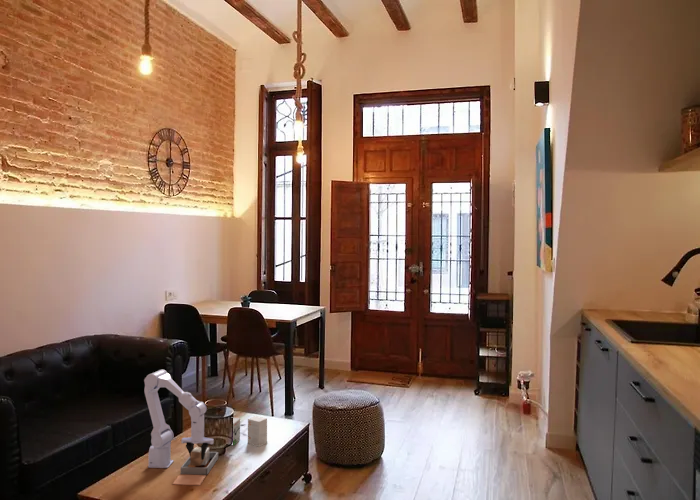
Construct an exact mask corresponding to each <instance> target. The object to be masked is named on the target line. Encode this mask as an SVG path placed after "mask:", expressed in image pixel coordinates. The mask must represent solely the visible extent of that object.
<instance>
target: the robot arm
mask: <svg viewBox="0 0 700 500" xmlns="http://www.w3.org/2000/svg"><path fill="white" fill-rule="evenodd" d="M143 382H144V391H143V392H144V397H145V400H146V403H147V407H148V411H149V416H150V419H151V423H152V427H153V428H152V431H151V433H150V436H151V440H150V443H151V445H150V447H149V450H148V466H147V468H153V469H155V468H158V469H168V468H169V467H170V466H171V465H172V464H173V462H175V461H174V459H171V456H172V455H171V451H172V450H171V446H172V445H171V444H172V441H173V440H174V432H173V430H172V429H171V427H170V424H167V423H166V420H165V416H164V412H163V409H162V404H161V401H160V397H159V393H158V391H159V390H160V388H166V389H167V390H168V391H169V392H170V393H172V395H175V396H176V397H177V398H178V402H179V403H180V405H182V406H183V407H184V408H185V409H186V411H187V410H188V415H189V416H190V421H191V425H190V426H191V429H190V431H191V432H190V437H188V436H187V437H182V438H181V440H180V441H181V444H186V445H185V449H187V451H188V453H189V457H190V458H191V451H192V450H193V449H194V448H195V445H197V444H201V445H200V447H201V451H202V456H201V459H202V460H203V459H204V457H205V452H206V449H207V448H209V447H208V446H209V445H213V444H215V443H214V442H215V440H214V438H210V437H205V413H206V412H207V410H208V409H207V405H206V404H205V403H204V401H200V400H197V399H196V397H194V396H193V394H192V393H191V392H189V391H184V390H183V389H182V388H181V387H180V386H179V385H178V383H176V381H174V380H173V378H172V376H171V374H170V373H168V372H167V370H165V369H158V370H157V371H155V372H154V371H153V372H152V373H149V374H147V375H146V377H144V379H143Z"/></svg>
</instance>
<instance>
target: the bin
mask: <svg viewBox="0 0 700 500" xmlns="http://www.w3.org/2000/svg"><path fill="white" fill-rule="evenodd" d="M209 459H211V460H210V462H208V465H207V466H206V467H202V466H201V467H199V466H196V467H195V466H190V464H191V458H190V456H188V458H187V459H186V461H185V462H184V463H183V464H182V465H181V466H180V474H182V475H206V476H207V475H208V474H209V473H210V471H211V470H212V468H213V467H214V466H215V464H216V463H217V461H218V460H219V451H209ZM188 465H189V466H188Z"/></svg>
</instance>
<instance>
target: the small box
mask: <svg viewBox="0 0 700 500" xmlns="http://www.w3.org/2000/svg"><path fill="white" fill-rule="evenodd" d="M267 443H268V418H266V417H262V416H258V415H254V416H251V417H249V418H247V444H249V445H252V446H256V447H261V446H263V445H265V444H267Z"/></svg>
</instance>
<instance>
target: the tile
mask: <svg viewBox="0 0 700 500" xmlns="http://www.w3.org/2000/svg"><path fill="white" fill-rule="evenodd" d="M206 477H207V475H199V474H181V473H180V474H179V475H178V476H177V477H176V479H174V481H173V483H172V486H173V485H176V486H201V484H202V483H203V481H204V480H205V479H206Z"/></svg>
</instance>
